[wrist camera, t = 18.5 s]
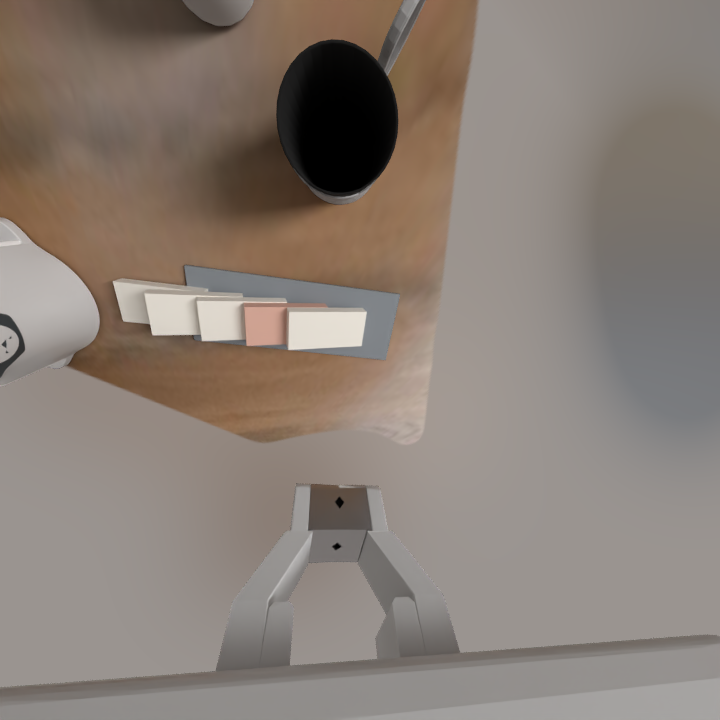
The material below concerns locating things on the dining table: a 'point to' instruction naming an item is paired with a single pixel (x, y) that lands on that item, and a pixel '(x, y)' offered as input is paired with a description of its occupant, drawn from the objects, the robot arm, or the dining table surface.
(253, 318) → the domino
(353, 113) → the grey mug
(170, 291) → the domino
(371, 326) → the mat
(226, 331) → the domino
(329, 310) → the domino
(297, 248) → the dining table surface
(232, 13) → the can
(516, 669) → the robot arm
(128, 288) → the domino
